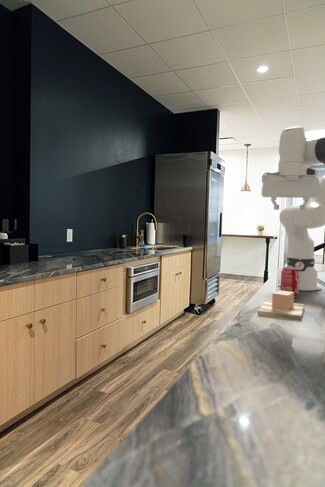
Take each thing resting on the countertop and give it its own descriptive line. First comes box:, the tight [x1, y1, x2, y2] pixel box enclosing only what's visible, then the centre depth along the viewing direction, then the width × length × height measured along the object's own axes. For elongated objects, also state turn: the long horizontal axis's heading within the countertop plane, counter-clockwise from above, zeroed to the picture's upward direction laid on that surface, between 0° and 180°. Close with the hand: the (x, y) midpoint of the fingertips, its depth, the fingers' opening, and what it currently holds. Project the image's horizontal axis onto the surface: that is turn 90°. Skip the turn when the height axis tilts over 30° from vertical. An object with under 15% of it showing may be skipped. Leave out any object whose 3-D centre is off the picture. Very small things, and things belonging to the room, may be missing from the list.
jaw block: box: [271, 289, 295, 311], centre depth 111 cm, size 7×5×5 cm
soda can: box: [280, 266, 300, 299], centre depth 135 cm, size 7×7×12 cm
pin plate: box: [257, 299, 305, 322], centre depth 111 cm, size 17×13×5 cm
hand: (289, 209), depth 120 cm, fingers open, 8 cm apart
